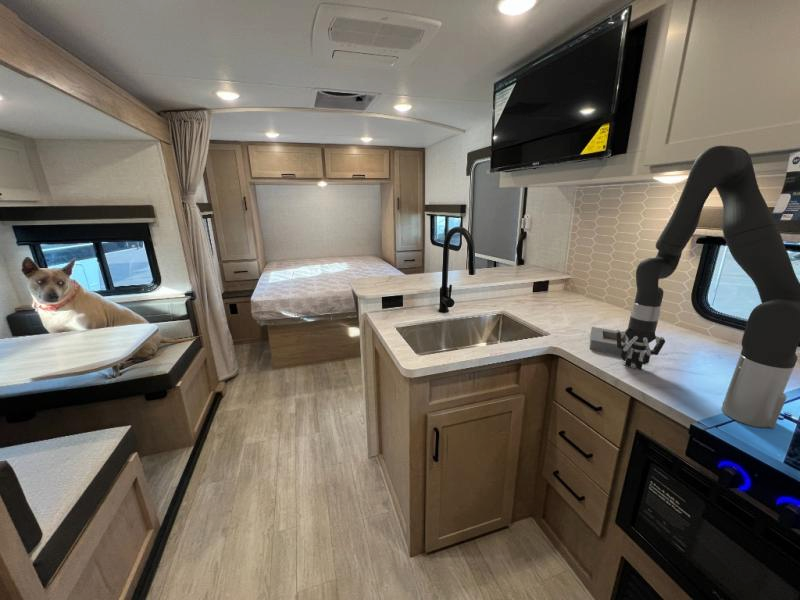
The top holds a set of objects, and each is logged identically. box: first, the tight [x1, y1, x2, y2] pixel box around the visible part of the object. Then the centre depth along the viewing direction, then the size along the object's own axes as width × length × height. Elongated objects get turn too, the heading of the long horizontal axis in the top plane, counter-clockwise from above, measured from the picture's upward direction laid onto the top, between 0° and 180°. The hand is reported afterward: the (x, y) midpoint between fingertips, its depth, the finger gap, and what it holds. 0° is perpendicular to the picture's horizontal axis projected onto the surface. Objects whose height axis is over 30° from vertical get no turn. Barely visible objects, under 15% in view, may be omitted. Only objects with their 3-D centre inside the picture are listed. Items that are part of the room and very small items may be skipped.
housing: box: [589, 326, 641, 358], centre depth 128 cm, size 16×16×4 cm
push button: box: [619, 341, 647, 371], centre depth 111 cm, size 7×5×10 cm
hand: (633, 361), depth 112 cm, fingers closed on push button, 5 cm apart
